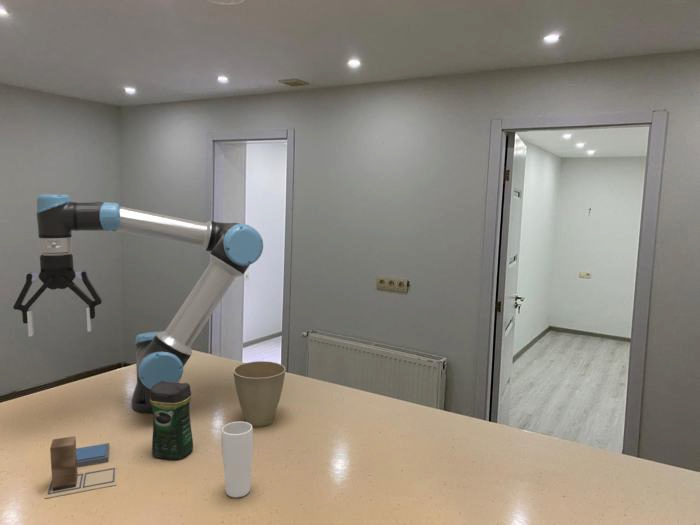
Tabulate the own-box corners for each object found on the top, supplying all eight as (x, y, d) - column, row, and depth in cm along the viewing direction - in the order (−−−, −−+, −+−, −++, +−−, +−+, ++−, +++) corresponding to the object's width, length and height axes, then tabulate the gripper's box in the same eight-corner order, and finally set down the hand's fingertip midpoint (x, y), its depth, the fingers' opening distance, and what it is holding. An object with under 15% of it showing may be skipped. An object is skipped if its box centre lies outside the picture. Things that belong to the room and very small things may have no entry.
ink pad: (109, 447, 132) (109, 442, 132) (108, 462, 125) (108, 456, 125) (65, 454, 128) (65, 449, 128) (62, 470, 121) (61, 464, 121)
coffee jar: (198, 447, 133) (196, 379, 130) (181, 462, 125) (179, 390, 123) (165, 443, 135) (163, 375, 133) (146, 457, 127) (144, 386, 125)
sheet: (117, 466, 123) (116, 464, 123) (116, 485, 115) (116, 483, 115) (50, 478, 117) (50, 476, 117) (44, 499, 109) (44, 497, 109)
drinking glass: (225, 484, 116) (223, 421, 114) (255, 483, 116) (254, 420, 115) (220, 501, 109) (218, 435, 107) (251, 500, 110) (251, 434, 108)
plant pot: (240, 436, 139) (239, 380, 137) (229, 415, 153) (228, 364, 151) (292, 427, 145) (292, 373, 143) (277, 408, 159) (277, 358, 157)
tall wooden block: (77, 476, 118) (75, 435, 117) (75, 486, 114) (73, 444, 112) (55, 481, 116) (52, 439, 115) (52, 491, 112) (50, 448, 111)
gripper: (-4, 256, 125) (2, 340, 127) (108, 253, 134) (111, 331, 137) (3, 253, 131) (8, 333, 134) (109, 251, 141) (112, 325, 144)
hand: (60, 332), depth 135 cm, fingers open, 13 cm apart
